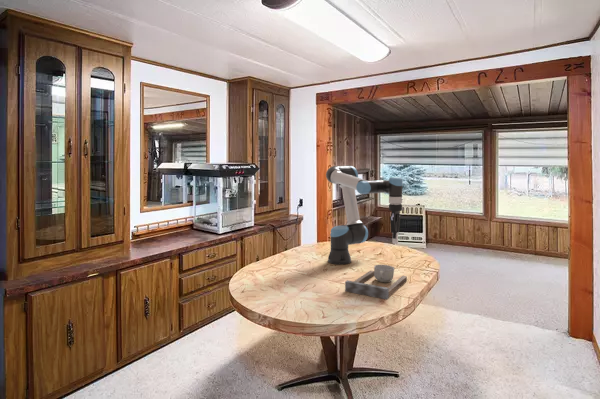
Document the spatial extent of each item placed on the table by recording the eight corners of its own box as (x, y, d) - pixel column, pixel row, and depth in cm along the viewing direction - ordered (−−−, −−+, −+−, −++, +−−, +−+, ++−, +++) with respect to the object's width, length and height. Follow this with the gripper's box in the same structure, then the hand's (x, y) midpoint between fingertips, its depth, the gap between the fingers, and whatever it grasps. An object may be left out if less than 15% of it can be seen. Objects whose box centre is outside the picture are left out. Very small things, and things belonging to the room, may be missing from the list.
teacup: (378, 276, 211) (378, 263, 210) (396, 279, 205) (397, 265, 204) (368, 283, 200) (368, 269, 199) (387, 287, 193) (387, 272, 193)
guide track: (345, 291, 188) (345, 281, 187) (369, 274, 215) (369, 266, 214) (386, 299, 176) (386, 289, 175) (407, 280, 203) (407, 272, 202)
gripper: (398, 205, 206) (397, 246, 209) (405, 203, 217) (404, 242, 219) (385, 204, 210) (385, 245, 213) (393, 202, 221) (392, 240, 223)
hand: (395, 243), depth 216 cm, fingers closed
